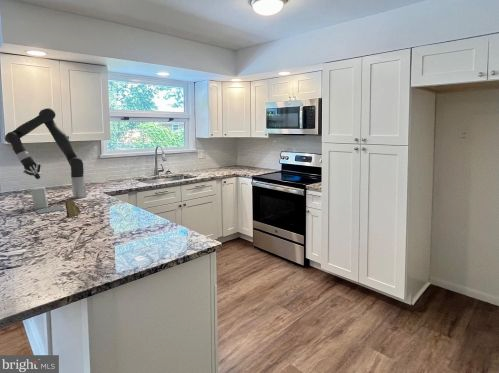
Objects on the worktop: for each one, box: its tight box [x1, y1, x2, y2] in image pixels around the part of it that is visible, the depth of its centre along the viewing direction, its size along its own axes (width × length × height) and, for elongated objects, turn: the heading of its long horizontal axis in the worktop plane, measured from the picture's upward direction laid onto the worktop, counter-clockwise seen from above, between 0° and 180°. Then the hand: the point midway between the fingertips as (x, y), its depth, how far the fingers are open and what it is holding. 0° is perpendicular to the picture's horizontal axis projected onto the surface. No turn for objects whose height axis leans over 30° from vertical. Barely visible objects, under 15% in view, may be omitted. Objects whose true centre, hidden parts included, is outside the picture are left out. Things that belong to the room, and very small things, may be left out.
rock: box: [64, 200, 81, 218], centre depth 220 cm, size 11×9×10 cm
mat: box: [34, 205, 66, 215], centre depth 235 cm, size 16×15×1 cm
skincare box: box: [30, 186, 49, 210], centre depth 241 cm, size 8×6×15 cm
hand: (38, 178), depth 248 cm, fingers closed
